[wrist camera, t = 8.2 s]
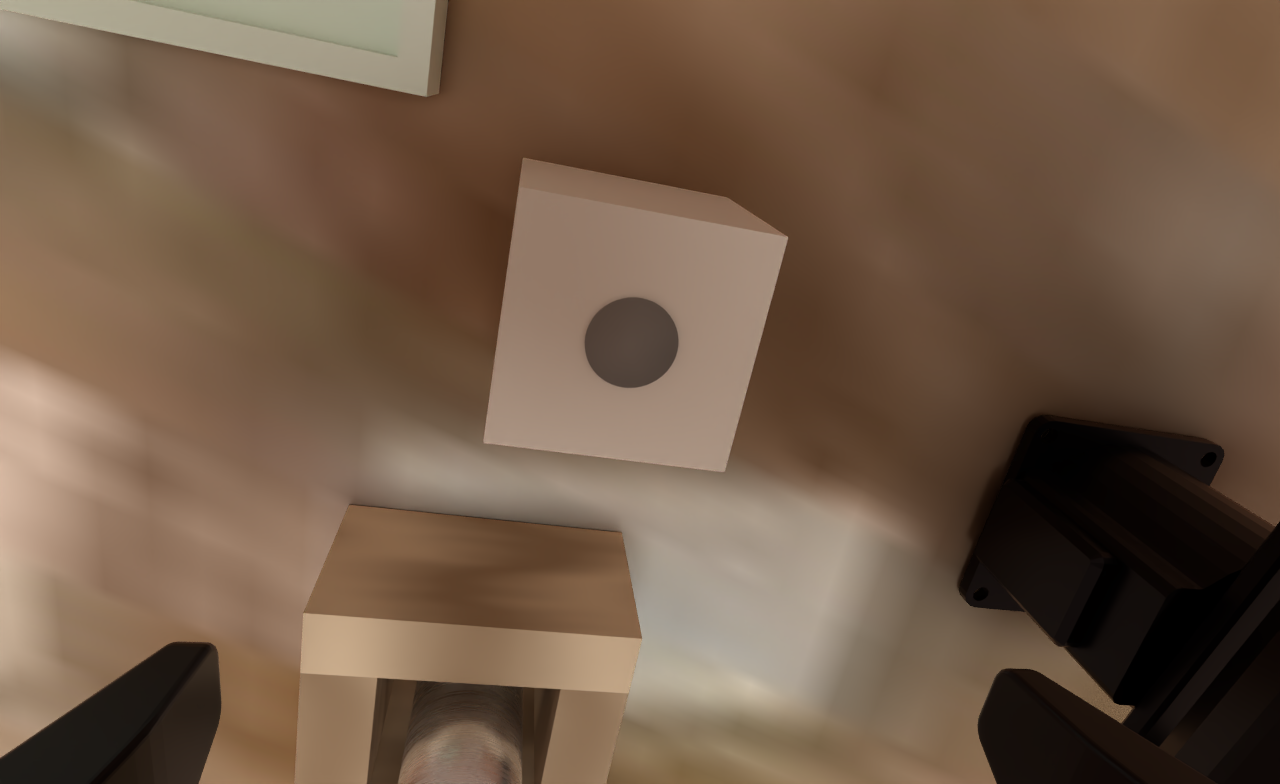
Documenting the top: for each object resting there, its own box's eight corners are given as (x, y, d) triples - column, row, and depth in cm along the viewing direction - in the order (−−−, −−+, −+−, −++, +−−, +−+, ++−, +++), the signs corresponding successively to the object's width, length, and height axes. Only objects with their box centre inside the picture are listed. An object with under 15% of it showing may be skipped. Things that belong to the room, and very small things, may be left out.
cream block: (726, 196, 19) (790, 237, 14) (681, 383, 21) (725, 474, 16) (522, 157, 18) (519, 187, 13) (494, 356, 20) (482, 444, 15)
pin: (530, 592, 22) (530, 893, 14) (516, 668, 23) (509, 990, 15) (432, 584, 22) (373, 893, 14) (422, 662, 23) (362, 992, 15)
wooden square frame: (621, 532, 22) (642, 639, 18) (577, 730, 25) (586, 862, 21) (349, 504, 21) (303, 613, 16) (333, 717, 23) (290, 856, 19)
